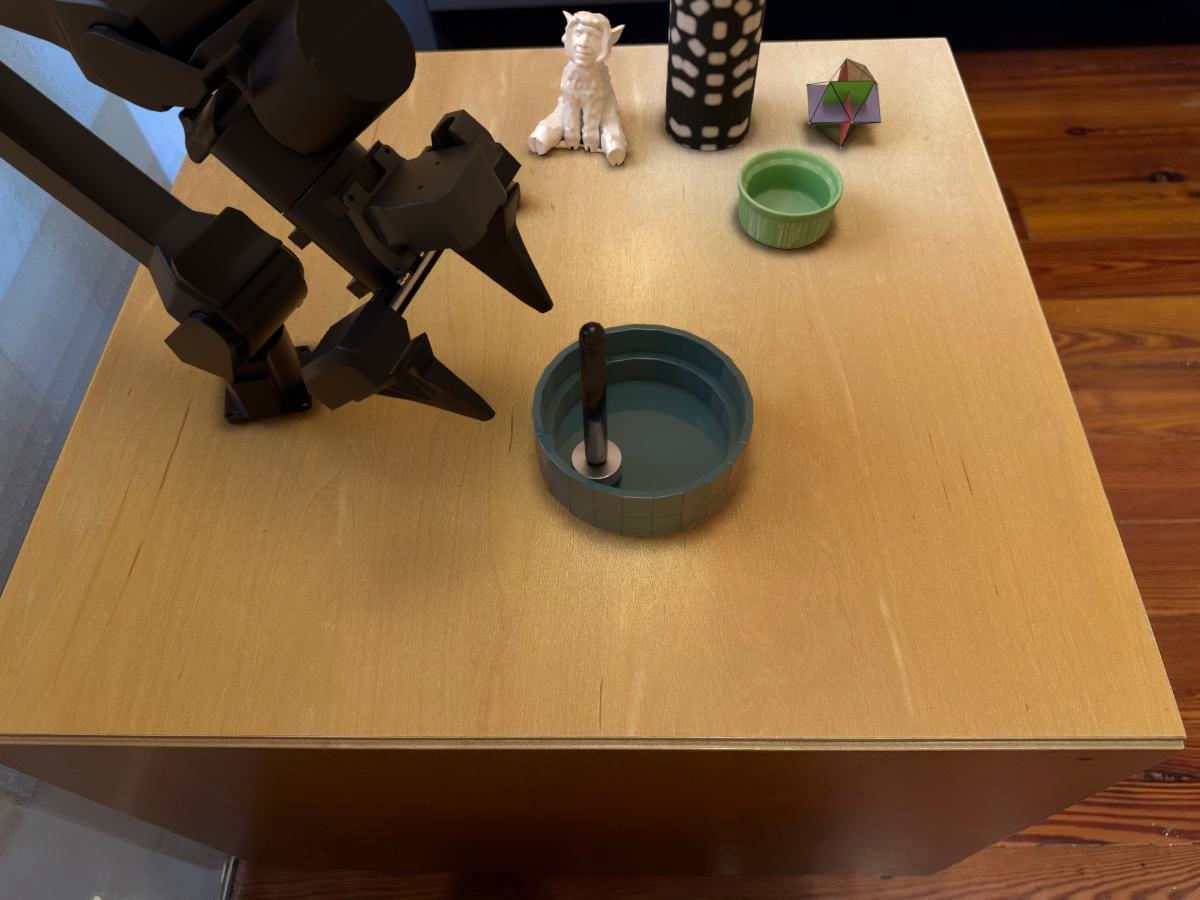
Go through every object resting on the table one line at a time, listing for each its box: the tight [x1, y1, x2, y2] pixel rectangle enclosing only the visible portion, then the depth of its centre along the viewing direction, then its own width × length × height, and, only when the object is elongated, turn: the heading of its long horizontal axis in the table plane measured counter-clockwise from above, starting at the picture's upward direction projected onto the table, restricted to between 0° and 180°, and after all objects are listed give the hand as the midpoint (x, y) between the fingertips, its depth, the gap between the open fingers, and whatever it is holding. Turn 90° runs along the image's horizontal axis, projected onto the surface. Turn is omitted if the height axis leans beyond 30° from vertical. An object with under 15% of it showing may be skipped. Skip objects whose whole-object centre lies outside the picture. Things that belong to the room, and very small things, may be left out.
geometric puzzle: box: [806, 57, 883, 149], centre depth 86 cm, size 7×7×8 cm
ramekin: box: [737, 147, 844, 250], centre depth 80 cm, size 9×9×4 cm
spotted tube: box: [664, 0, 767, 152], centre depth 82 cm, size 8×8×20 cm
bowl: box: [531, 323, 755, 538], centre depth 65 cm, size 15×15×6 cm
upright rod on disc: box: [571, 321, 622, 486], centre depth 59 cm, size 4×4×15 cm
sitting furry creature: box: [527, 10, 628, 167], centre depth 85 cm, size 10×9×12 cm
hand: (521, 361), depth 56 cm, fingers open, 9 cm apart
